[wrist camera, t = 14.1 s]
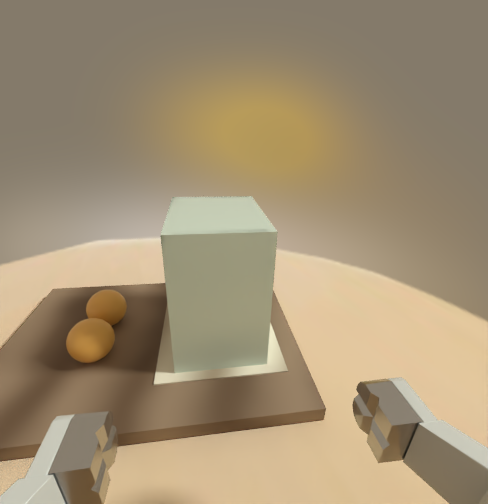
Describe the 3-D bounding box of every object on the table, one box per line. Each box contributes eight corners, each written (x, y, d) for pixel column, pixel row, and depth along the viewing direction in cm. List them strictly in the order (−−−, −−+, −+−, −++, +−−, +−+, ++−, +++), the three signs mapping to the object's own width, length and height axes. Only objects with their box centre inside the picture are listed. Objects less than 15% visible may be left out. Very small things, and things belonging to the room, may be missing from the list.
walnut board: (-86, 472, 14) (-96, 458, 14) (55, 297, 29) (52, 288, 28) (323, 419, 18) (326, 407, 17) (267, 285, 32) (267, 277, 32)
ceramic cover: (174, 373, 19) (160, 235, 15) (180, 302, 27) (172, 197, 23) (266, 364, 20) (277, 231, 16) (247, 298, 28) (251, 196, 24)
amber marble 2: (64, 374, 19) (52, 339, 18) (80, 343, 22) (72, 310, 20) (111, 370, 19) (103, 335, 18) (122, 340, 22) (115, 308, 21)
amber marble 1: (84, 336, 22) (76, 304, 21) (96, 313, 25) (90, 283, 24) (124, 333, 23) (118, 301, 22) (132, 310, 26) (127, 281, 24)
